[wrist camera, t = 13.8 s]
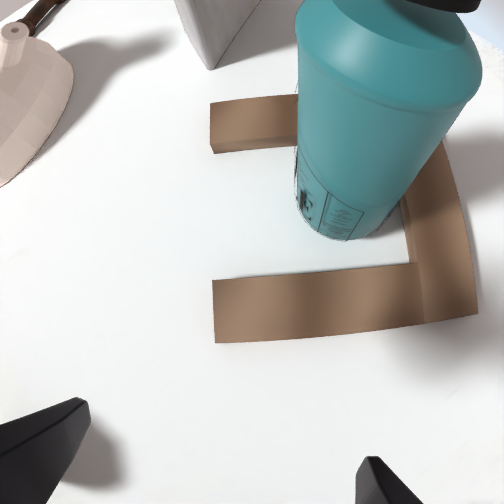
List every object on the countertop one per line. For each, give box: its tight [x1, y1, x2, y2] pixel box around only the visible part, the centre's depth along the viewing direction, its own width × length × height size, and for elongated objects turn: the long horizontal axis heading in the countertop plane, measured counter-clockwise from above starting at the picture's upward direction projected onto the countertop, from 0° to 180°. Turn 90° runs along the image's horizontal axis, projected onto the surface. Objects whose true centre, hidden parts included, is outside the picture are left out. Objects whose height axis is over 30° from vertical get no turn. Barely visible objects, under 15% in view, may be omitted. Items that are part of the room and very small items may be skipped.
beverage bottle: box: [294, 0, 482, 241], centre depth 13 cm, size 6×7×20 cm
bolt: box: [16, 0, 65, 37], centre depth 34 cm, size 6×5×15 cm
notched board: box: [210, 94, 478, 343], centre depth 22 cm, size 18×18×2 cm
